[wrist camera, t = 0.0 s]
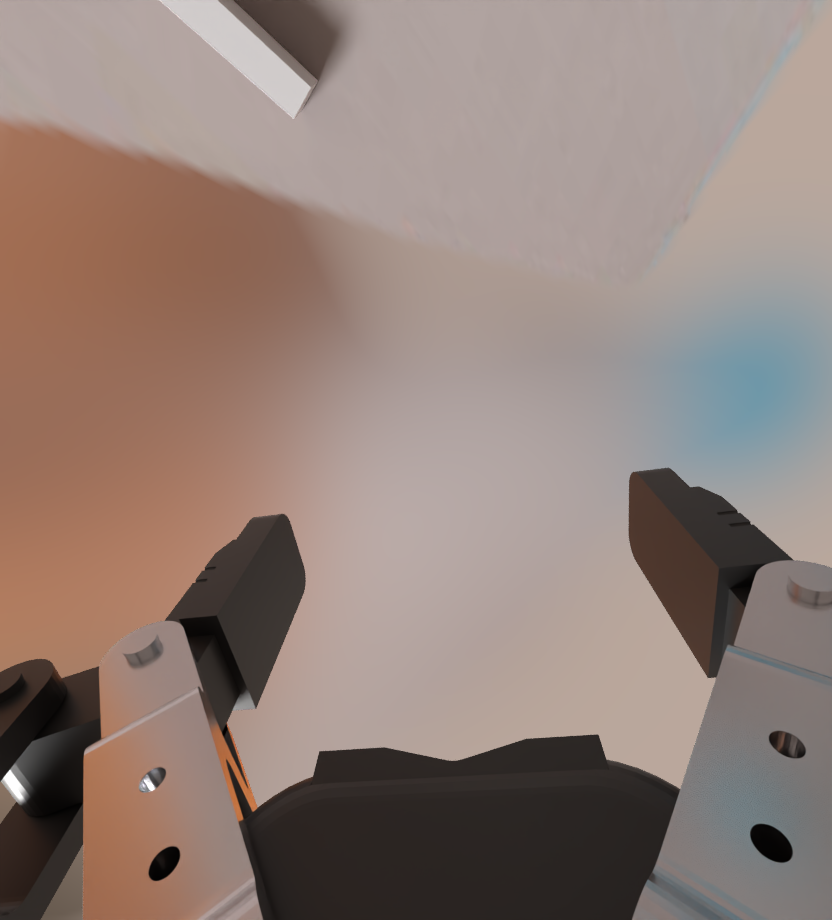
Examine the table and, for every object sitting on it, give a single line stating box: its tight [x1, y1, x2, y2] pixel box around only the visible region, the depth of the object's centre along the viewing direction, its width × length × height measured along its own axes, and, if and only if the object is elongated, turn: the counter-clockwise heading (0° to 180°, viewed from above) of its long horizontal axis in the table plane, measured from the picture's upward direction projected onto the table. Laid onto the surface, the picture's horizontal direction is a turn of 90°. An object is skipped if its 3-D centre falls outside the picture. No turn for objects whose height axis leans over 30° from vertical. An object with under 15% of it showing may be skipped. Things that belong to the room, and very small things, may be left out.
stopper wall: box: [159, 0, 318, 119], centre depth 27 cm, size 10×2×3 cm, turn 50°
